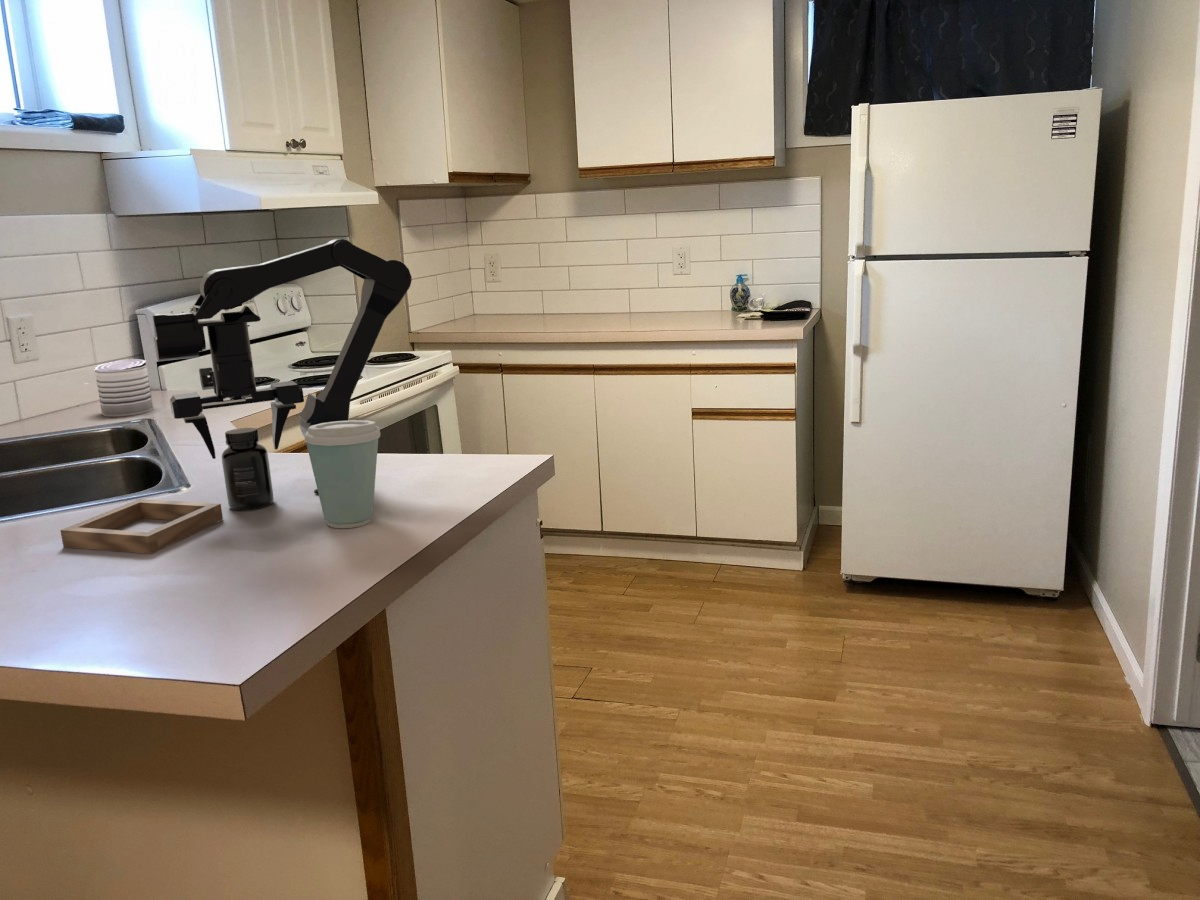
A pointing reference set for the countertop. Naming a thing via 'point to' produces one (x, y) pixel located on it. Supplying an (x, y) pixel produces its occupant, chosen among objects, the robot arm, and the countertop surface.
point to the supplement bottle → (246, 470)
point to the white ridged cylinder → (123, 388)
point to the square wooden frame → (105, 537)
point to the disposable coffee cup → (344, 469)
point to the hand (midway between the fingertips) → (245, 453)
